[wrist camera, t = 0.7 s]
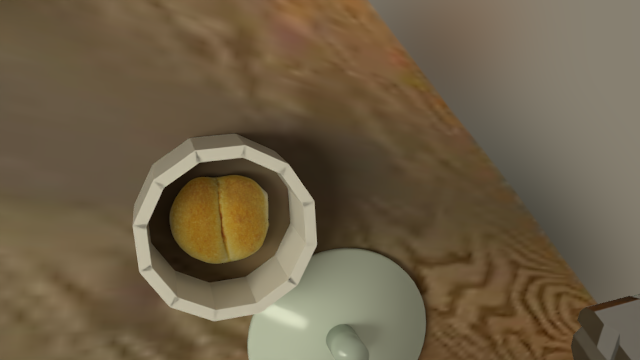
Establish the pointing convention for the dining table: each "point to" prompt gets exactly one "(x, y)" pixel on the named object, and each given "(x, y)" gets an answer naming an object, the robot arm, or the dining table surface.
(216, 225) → the bread roll
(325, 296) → the lid
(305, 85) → the dining table surface
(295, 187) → the bowl
